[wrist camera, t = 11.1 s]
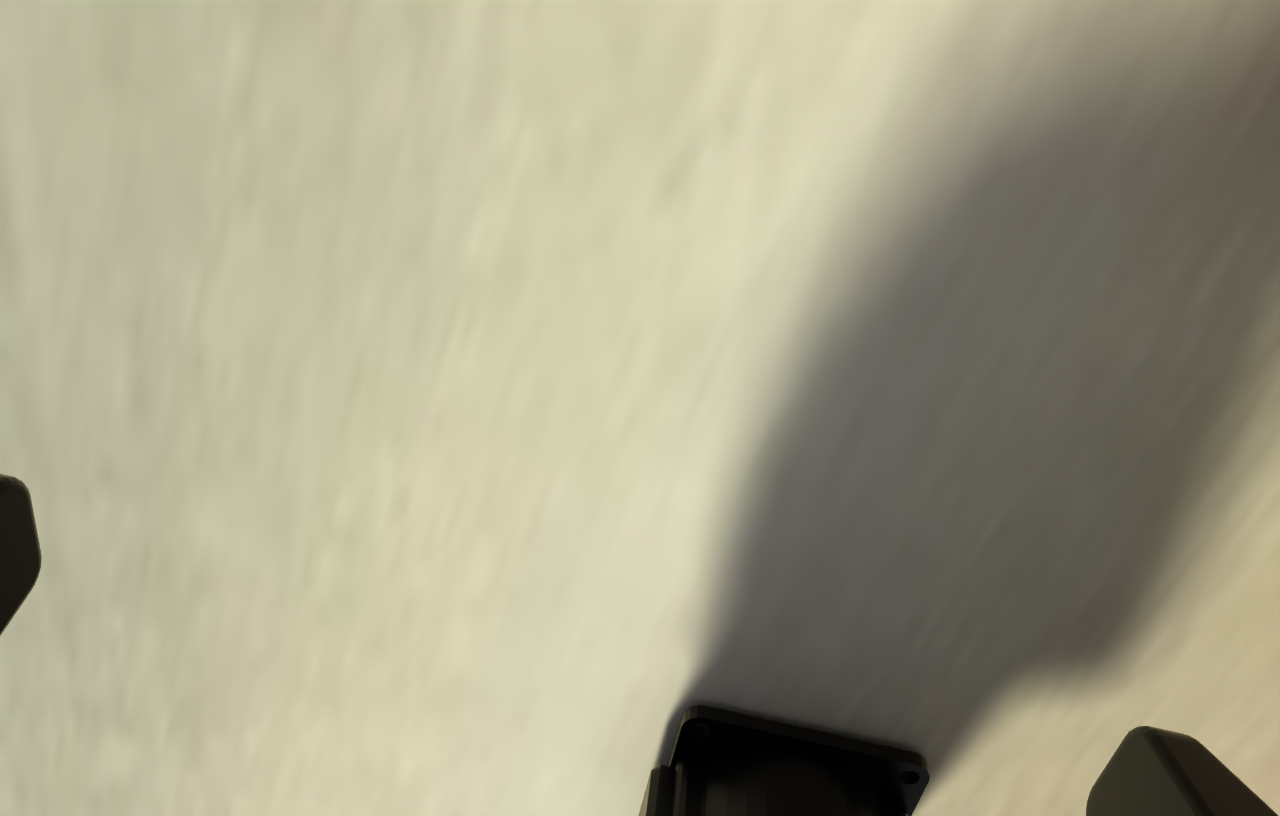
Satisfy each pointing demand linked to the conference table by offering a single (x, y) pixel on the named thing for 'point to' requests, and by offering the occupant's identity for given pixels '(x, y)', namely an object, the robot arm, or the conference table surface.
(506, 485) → the conference table surface
